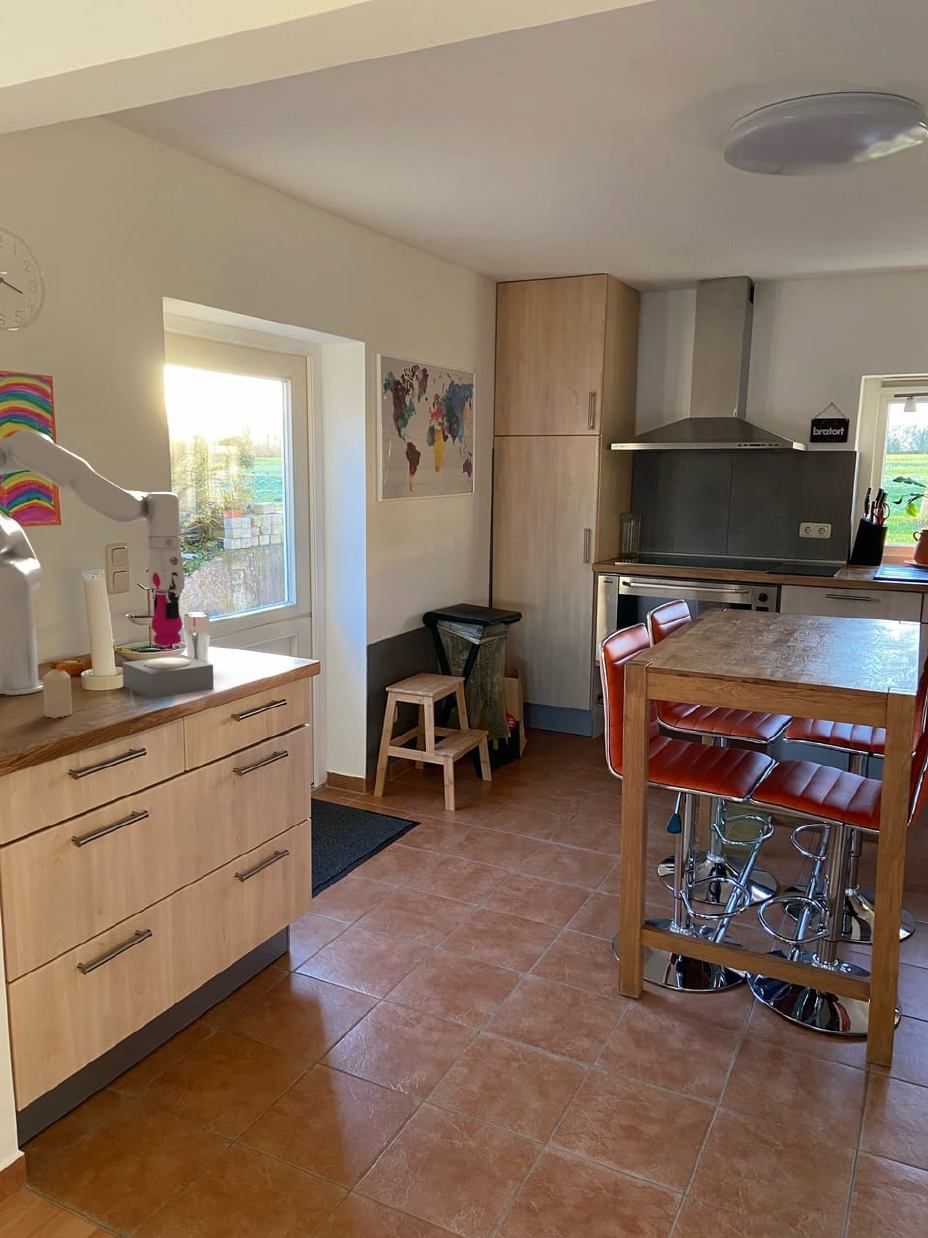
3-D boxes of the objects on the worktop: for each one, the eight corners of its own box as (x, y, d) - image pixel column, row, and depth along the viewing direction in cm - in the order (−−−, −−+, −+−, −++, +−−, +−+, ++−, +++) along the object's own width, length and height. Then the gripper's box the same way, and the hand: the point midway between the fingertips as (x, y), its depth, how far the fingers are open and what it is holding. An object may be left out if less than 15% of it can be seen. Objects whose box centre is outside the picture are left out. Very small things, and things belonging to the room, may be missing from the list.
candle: (40, 714, 197) (38, 670, 196) (66, 710, 201) (64, 666, 199) (50, 720, 193) (47, 674, 192) (76, 715, 197) (74, 671, 196)
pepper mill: (173, 645, 218) (170, 563, 215) (146, 644, 220) (143, 562, 216) (188, 640, 225) (185, 560, 222) (161, 639, 227) (159, 559, 223)
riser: (152, 698, 213) (151, 672, 212) (123, 686, 224) (122, 661, 223) (213, 688, 224) (213, 663, 223) (182, 677, 235) (182, 653, 234)
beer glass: (184, 671, 242) (182, 616, 239) (184, 666, 248) (183, 612, 246) (211, 670, 243) (209, 616, 241) (211, 665, 250) (209, 612, 248)
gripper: (195, 545, 215) (197, 620, 218) (162, 540, 227) (164, 611, 230) (165, 546, 210) (168, 623, 213) (133, 541, 222) (136, 614, 225)
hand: (166, 616), depth 221 cm, fingers closed on pepper mill, 5 cm apart
